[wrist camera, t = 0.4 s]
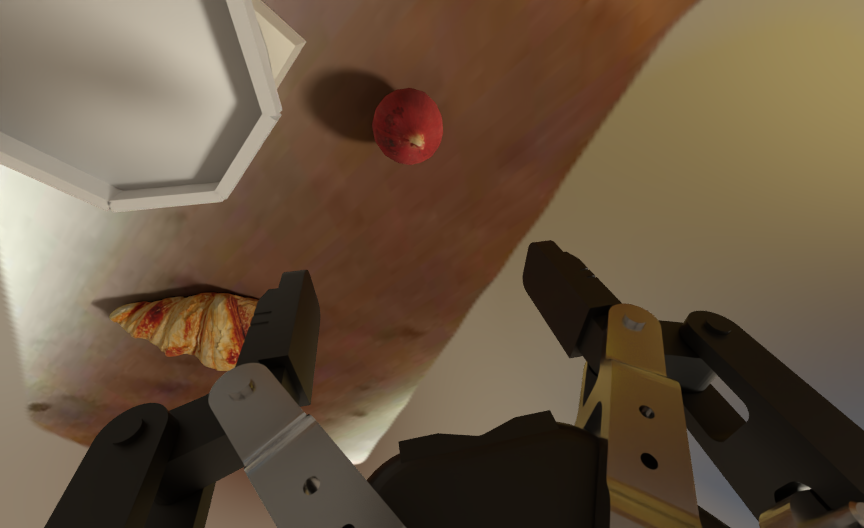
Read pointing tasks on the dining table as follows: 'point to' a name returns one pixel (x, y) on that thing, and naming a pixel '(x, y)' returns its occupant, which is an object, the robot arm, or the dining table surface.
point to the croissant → (192, 325)
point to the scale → (140, 95)
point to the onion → (407, 126)
